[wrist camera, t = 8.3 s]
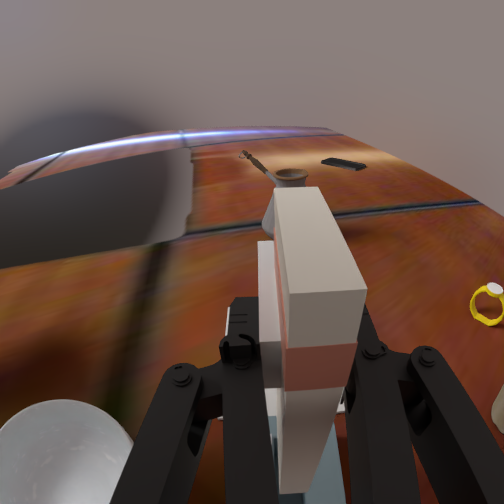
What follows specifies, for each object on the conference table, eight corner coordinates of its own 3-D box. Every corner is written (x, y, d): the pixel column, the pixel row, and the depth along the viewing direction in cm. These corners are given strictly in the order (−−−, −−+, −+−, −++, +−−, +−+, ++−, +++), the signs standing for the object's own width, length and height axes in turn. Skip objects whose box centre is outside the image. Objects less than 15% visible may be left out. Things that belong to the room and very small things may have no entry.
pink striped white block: (308, 492, 14) (369, 289, 6) (278, 494, 14) (287, 294, 6) (301, 410, 19) (318, 186, 11) (275, 411, 19) (272, 187, 11)
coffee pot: (332, 237, 61) (335, 162, 54) (288, 257, 56) (287, 174, 48) (266, 206, 77) (263, 145, 69) (225, 220, 71) (218, 154, 64)
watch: (464, 317, 38) (474, 284, 36) (470, 309, 40) (479, 276, 37) (496, 333, 34) (509, 299, 31) (501, 323, 35) (513, 290, 32)
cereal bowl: (178, 444, 27) (158, 409, 23) (158, 591, 12) (124, 591, 9) (47, 420, 28) (16, 384, 24) (9, 532, 13) (-37, 508, 10)
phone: (331, 157, 113) (366, 164, 103) (331, 160, 114) (366, 167, 104) (319, 161, 108) (356, 168, 99) (319, 164, 109) (356, 172, 99)
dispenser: (338, 544, 16) (351, 538, 14) (240, 551, 17) (233, 546, 14) (325, 435, 27) (332, 408, 24) (243, 440, 27) (238, 414, 24)
